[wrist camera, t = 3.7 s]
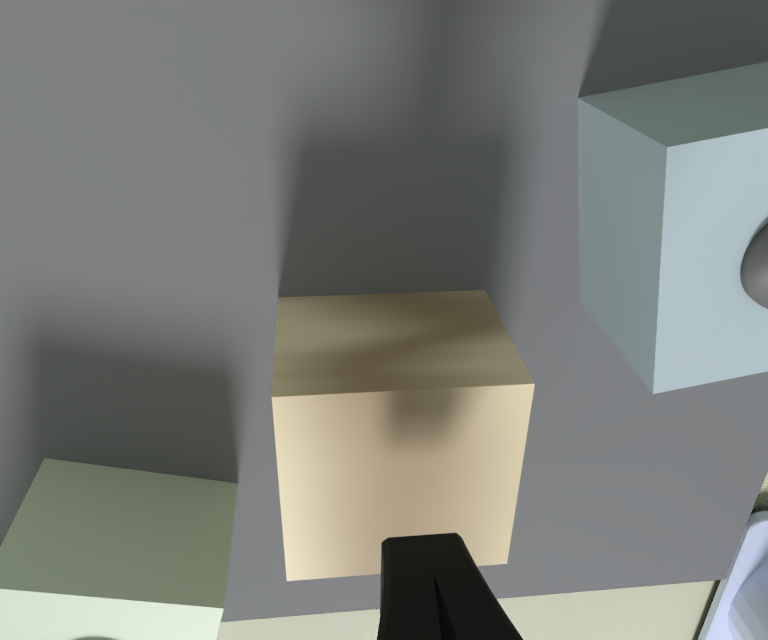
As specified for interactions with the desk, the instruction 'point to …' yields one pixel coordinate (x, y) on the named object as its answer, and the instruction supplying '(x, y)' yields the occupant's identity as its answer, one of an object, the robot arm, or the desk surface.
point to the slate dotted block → (678, 224)
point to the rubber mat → (345, 256)
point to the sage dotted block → (116, 556)
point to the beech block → (395, 426)
